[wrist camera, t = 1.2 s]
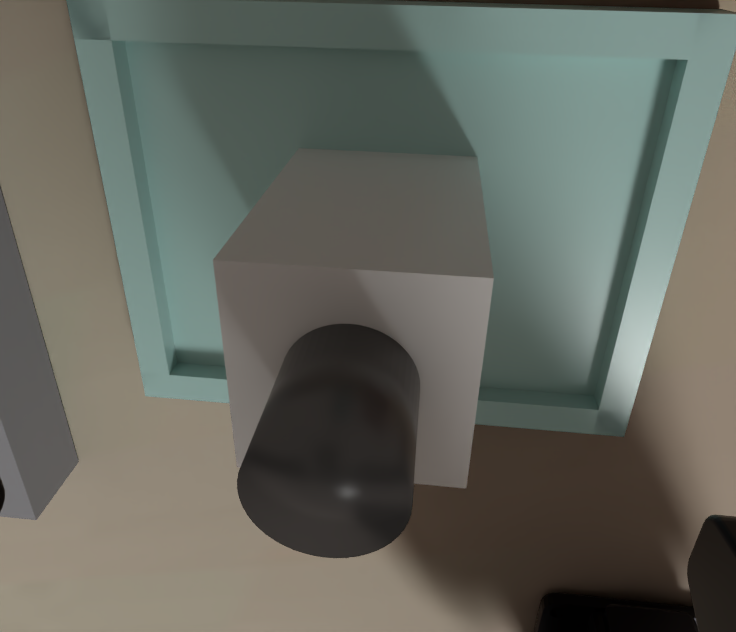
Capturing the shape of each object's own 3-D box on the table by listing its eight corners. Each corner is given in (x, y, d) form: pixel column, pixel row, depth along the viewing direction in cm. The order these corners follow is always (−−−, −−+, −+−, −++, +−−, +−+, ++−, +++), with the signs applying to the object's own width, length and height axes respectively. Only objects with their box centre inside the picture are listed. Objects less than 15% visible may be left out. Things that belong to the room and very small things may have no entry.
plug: (460, 314, 16) (469, 616, 9) (304, 303, 16) (188, 585, 9) (477, 156, 14) (507, 379, 7) (298, 147, 14) (142, 350, 7)
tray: (721, 9, 12) (745, 14, 11) (613, 408, 18) (624, 436, 16) (94, -8, 14) (65, -5, 13) (162, 371, 19) (145, 396, 18)
